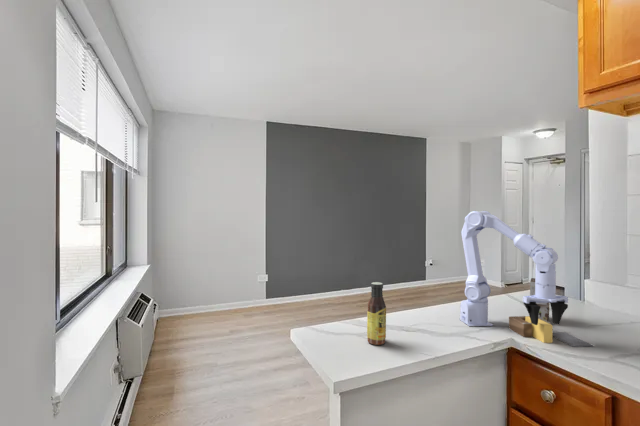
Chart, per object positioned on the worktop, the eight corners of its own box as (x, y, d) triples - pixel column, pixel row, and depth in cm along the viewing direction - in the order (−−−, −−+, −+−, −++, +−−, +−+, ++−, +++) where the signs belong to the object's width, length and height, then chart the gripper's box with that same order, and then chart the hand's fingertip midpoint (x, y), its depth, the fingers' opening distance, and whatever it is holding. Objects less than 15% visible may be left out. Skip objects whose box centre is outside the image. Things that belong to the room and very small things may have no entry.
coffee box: (548, 324, 124) (549, 283, 124) (529, 321, 128) (529, 281, 128) (549, 318, 131) (550, 279, 131) (530, 315, 135) (531, 277, 135)
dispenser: (523, 337, 112) (523, 323, 112) (508, 328, 120) (508, 315, 120) (550, 336, 113) (551, 322, 113) (534, 328, 121) (534, 315, 121)
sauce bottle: (381, 347, 104) (381, 286, 103) (363, 343, 107) (364, 284, 107) (388, 340, 109) (388, 282, 109) (371, 336, 112) (371, 280, 112)
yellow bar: (543, 343, 107) (544, 325, 107) (525, 332, 116) (525, 316, 116) (552, 342, 108) (552, 325, 107) (533, 332, 116) (533, 316, 116)
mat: (572, 346, 104) (572, 345, 104) (546, 333, 115) (546, 332, 115) (593, 346, 105) (593, 345, 105) (565, 333, 116) (565, 332, 116)
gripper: (533, 287, 104) (533, 328, 104) (575, 286, 105) (575, 327, 105) (518, 282, 111) (518, 321, 111) (558, 281, 112) (558, 320, 112)
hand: (545, 323), depth 109 cm, fingers open, 7 cm apart
